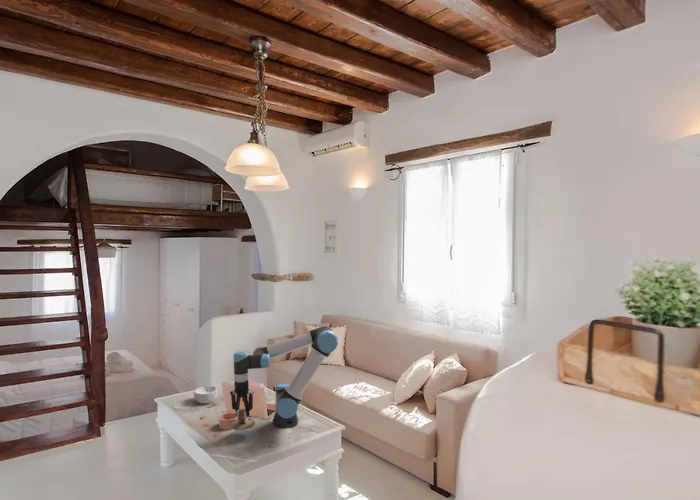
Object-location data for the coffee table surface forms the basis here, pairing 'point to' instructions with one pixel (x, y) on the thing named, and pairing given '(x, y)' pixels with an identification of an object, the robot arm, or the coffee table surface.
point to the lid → (242, 422)
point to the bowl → (227, 420)
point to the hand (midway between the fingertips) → (242, 421)
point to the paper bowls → (205, 394)
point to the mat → (241, 436)
